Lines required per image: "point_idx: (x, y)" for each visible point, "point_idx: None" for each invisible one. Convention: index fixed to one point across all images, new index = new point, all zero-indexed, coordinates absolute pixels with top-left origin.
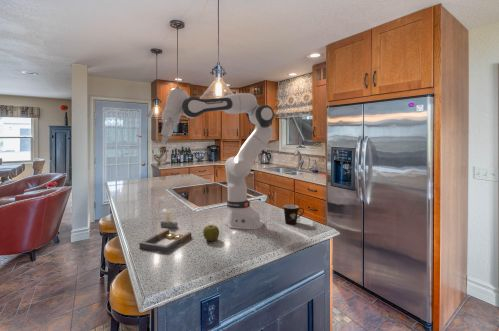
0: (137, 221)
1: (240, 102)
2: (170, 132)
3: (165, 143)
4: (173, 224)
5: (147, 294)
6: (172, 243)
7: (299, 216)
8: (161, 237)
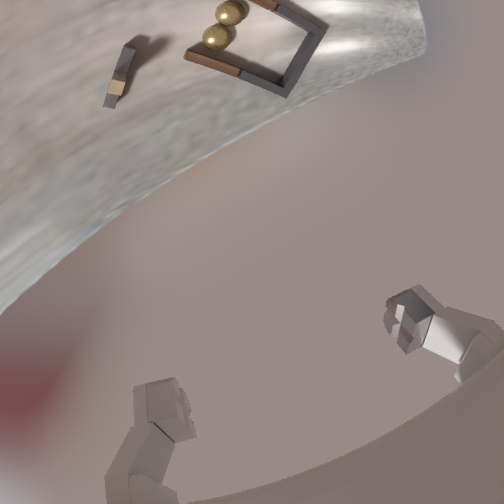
0: (78, 196)
1: None
2: (455, 480)
3: (179, 391)
4: (132, 56)
5: (425, 50)
6: (304, 20)
7: None
8: (221, 61)
